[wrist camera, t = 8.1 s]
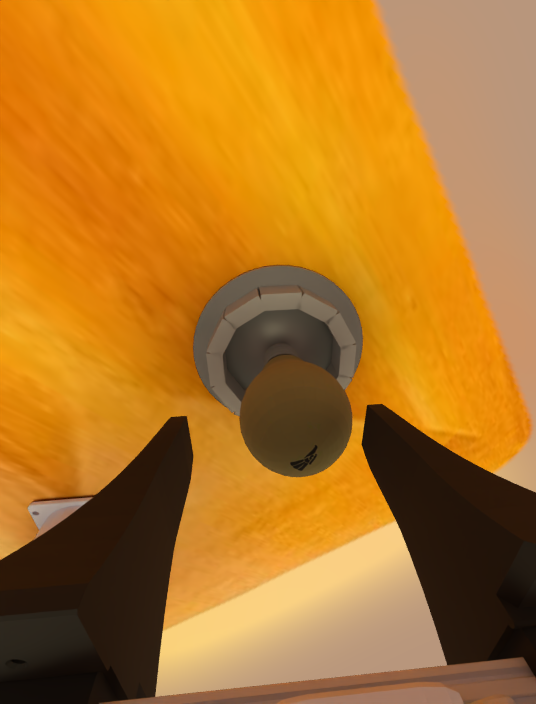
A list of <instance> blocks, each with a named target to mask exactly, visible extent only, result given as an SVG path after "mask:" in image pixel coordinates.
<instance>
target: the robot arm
mask: <svg viewBox="0 0 536 704" xmlns="http://www.w3.org/2000/svg"><path fill="white" fill-rule="evenodd" d="M362 447H363V450H364V453H365V456H366V459H367V461H368V464H369V467H370V469H371V471H372V473H373V475H374V477H375V479H376V481H377V484H378V486H379V488H380V490H381V491H382V493H383V495H384V497H385V499H386V501H387V503H388V505H389V507H390V509H391V511H392V513H393V515H394V517H395V519H396V521H397V524H398V526H399V528H400V530H401V532H402V535H403V537H404V540H405V543H406V545H407V548H408V551H409V553H410V555H411V558H412V561H413V564H414V567H415V569H416V572H417V575H418V577H419V580H420V583H421V586H422V588H423V591H424V594H425V597H426V600H427V603H428V606H429V609H430V612H431V615H432V618H433V621H434V624H435V627H436V630H437V634H438V637H439V640H440V643H441V646H442V650H443V652H444V656H445V659H446V662H447V666H437V667H428V668H419V669H410V670H400V671H391V672H382V673H372V674H364V675H355V676H345V677H336V678H327V679H318V680H308V681H298V682H289V683H280V684H271V685H262V686H252V687H244V688H234V689H225V690H216V691H206V692H197V693H188V694H179V695H169V696H160V697H155V692H156V684H157V674H158V664H159V656H160V647H161V639H162V631H163V623H164V614H165V607H166V600H167V592H168V585H169V578H170V571H171V565H172V558H173V552H174V547H175V542H176V537H177V533H178V529H179V525H180V521H181V517H182V513H183V509H184V505H185V501H186V497H187V493H188V489H189V484H190V480H191V472H192V464H193V451H192V445H191V439H190V433H189V427H188V421H187V416H180V417H171V418H170V419H169V420H168V421H167V422H166V423H165V424H164V426H163V427H162V428H161V429H160V430H159V432H158V433H157V434H156V435H155V436H154V437H153V439H152V440H151V441H150V442H149V443H148V444H147V445H146V447H145V448H144V449H143V450H142V451H141V452H140V453H139V454H138V456H137V457H136V458H135V459H134V460H133V461H132V462H131V463H130V464H129V465H128V466H127V467H126V468H125V469H124V470H123V471H122V472H121V473H120V474H119V475H118V476H117V477H116V478H115V479H114V480H113V481H111V482H110V483H109V484H108V485H107V486H106V487H105V488H103V489H102V490H101V491H100V492H99V493H98V494H96V495H95V496H94V497H89V498H76V499H64V500H52V501H39V502H32V503H30V505H29V506H28V510H29V512H30V514H31V516H32V518H33V520H34V522H35V523H36V525H37V527H38V529H39V532H38V534H37V535H36V537H35V538H34V540H33V541H31V542H30V543H28V544H27V545H25V546H23V547H22V548H20V549H18V550H17V551H15V552H13V553H12V554H10V555H8V556H7V557H5V558H3V559H2V560H0V704H536V493H535V492H533V491H531V490H528V489H526V488H523V487H521V486H519V485H517V484H514V483H512V482H510V481H508V480H506V479H503V478H501V477H499V476H497V475H495V474H493V473H491V472H489V471H487V470H485V469H483V468H481V467H479V466H477V465H475V464H473V463H472V462H470V461H468V460H466V459H464V458H462V457H461V456H459V455H457V454H455V453H454V452H452V451H450V450H449V449H447V448H446V447H444V446H442V445H441V444H439V443H438V442H436V441H434V440H433V439H431V438H430V437H428V436H427V435H425V434H424V433H422V432H421V431H420V430H418V429H417V428H415V427H414V426H412V425H411V424H410V423H408V422H407V421H405V420H404V419H403V418H401V417H400V416H399V415H397V414H396V413H394V412H393V411H392V410H390V409H389V408H387V407H386V406H384V405H383V404H375V405H367V410H366V417H365V424H364V431H363V439H362Z"/></svg>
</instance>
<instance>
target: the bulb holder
mask: <svg viewBox="0 0 536 704" xmlns="http://www.w3.org/2000/svg"><path fill="white" fill-rule="evenodd" d="M362 342H363V336H362V327H361V324H360V320H359V317H358V314H357V312H356V309H355V307H354V306H353V304H352V303H351V301H350V299H349V298H348V297H347V296H346V295H345V293H344V292H343V291H342V290H341V289H340V288H339V287H338V286H336V285H335V284H334V283H333V282H332V281H330V280H329V279H327V278H326V277H324V276H323V275H320V274H318V273H316V272H314V271H312V270H308V269H305V268H302V267H296V266H290V265H274V266H265V267H261V268H257V269H253V270H250V271H248V272H245V273H243V274H241V275H239V276H237V277H235V278H234V279H232V280H230V281H229V282H228V283H226V284H225V285H224V286H222V287H221V288H220V289H219V290H218V291H217V292H216V293H215V294H214V295H213V296H212V298H211V299H210V300H209V302H208V303H207V304H206V306H205V308H204V310H203V312H202V313H201V316H200V318H199V321H198V324H197V326H196V330H195V335H194V345H193V351H194V360H195V364H196V368H197V371H198V373H199V376H200V378H201V380H202V382H203V384H204V385H205V387H206V388H207V389H208V391H209V392H210V393H211V394H212V395H213V396H214V397H215V398H216V399H217V400H218V401H219V402H220V403H221V404H223V405H224V406H225V407H227V408H228V409H229V410H230V411H231V412H232V413H233V412H234V414H235V415H238V416H240V408H241V402H242V400H243V397H244V395H245V392H246V390H247V388H248V386H249V385H250V383H251V382H252V381H253V380H254V378H255V377H256V376H257V375H258V374H259V373H260V372H261V371H262V370H263V368H264V360H263V359H264V355H265V353H266V351H267V350H268V349H269V348H270V347H271V346H273V345H275V344H279V343H285V344H288V345H290V346H292V347H293V348H294V349H295V350H296V352H297V354H298V356H299V358H300V359H302V360H303V361H305V362H309V363H312V364H315V365H317V366H319V367H321V368H323V369H324V370H326V371H327V372H329V373H330V374H331V375H332V376H333V377H334V378H335V379H337V381H338V382H339V384H340V385H341V386H342V388H343V389H344V390H345V389H346V388H347V386H348V385H349V383H350V382H351V381H352V377H353V375H354V373H355V371H356V369H357V367H358V364H359V361H360V358H361V352H362Z"/></svg>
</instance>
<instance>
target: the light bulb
mask: <svg viewBox="0 0 536 704" xmlns="http://www.w3.org/2000/svg"><path fill="white" fill-rule="evenodd" d="M263 360H264V368H263V370H262V371H261V372H260V373H259V374H258V375H257V376H256V377H255V378H254V380H253V381H252V382H251V383H250V385H249V386H248V388H247V390H246V392H245V395H244V397H243V400H242V402H241V408H240V428H241V433H242V436H243V438H244V441H245V444H246V446H247V447H248V449H249V450H250V452H251V453H252V455H253V456H254V457H255V458H256V459H257V460H258V461H259V462H260V463H261V464H262V465H263V466H265V467H266V468H268V469H269V470H271V471H274V472H276V473H279V474H281V475H284V476H290V477H305V476H310V475H314V474H317V473H319V472H321V471H323V470H325V469H327V468H328V467H330V466H331V465H332V464H333V463H334V462H335V461H336V460H337V459H338V458H339V457H340V456H341V454H342V453H343V451H344V450H345V448H346V446H347V443H348V441H349V438H350V435H351V430H352V411H351V405H350V402H349V400H348V397H347V395H346V393H345V391H344V389H343V388H342V386H341V385H340V384H339V382H338V381H337V379H335V378H334V377H333V376H332V375H331V374H330V373H329V372H327V371H326V370H324V369H323V368H321V367H319V366H317V365H315V364H312V363H309V362H305V361H303V360H302V359H300V358H299V356H298V354H297V352H296V350H295V349H294V348H293V347H292V346H290V345H288V344H285V343H279V344H275V345H273V346H271V347H270V348H269V349H268V350H267V351H266V353H265V355H264V359H263Z"/></svg>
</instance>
